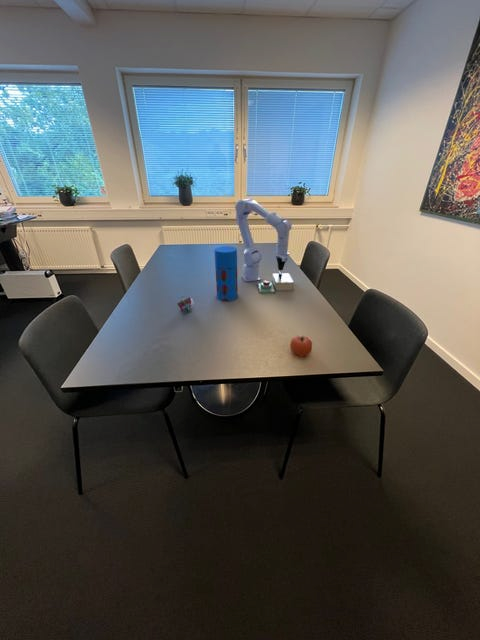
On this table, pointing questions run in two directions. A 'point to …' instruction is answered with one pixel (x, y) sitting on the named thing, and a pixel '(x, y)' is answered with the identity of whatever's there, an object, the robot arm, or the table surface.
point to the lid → (282, 278)
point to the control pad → (266, 288)
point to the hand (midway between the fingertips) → (280, 269)
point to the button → (266, 282)
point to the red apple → (301, 345)
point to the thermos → (226, 272)
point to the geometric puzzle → (185, 303)
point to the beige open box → (283, 286)
